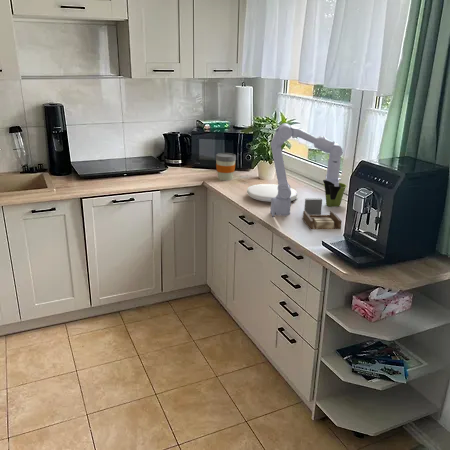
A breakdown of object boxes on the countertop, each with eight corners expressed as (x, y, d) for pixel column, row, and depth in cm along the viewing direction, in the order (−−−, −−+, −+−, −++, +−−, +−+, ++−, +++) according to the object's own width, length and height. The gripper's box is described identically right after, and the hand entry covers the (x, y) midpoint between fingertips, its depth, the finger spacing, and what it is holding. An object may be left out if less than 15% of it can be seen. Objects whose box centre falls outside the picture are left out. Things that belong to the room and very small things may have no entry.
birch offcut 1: (314, 226, 214) (315, 220, 213) (313, 224, 216) (313, 218, 214) (331, 225, 214) (332, 219, 213) (330, 224, 216) (330, 218, 215)
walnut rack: (310, 231, 210) (311, 221, 208) (302, 220, 223) (303, 210, 221) (340, 231, 211) (341, 220, 210) (331, 220, 224) (332, 210, 223)
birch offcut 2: (316, 228, 211) (316, 222, 210) (315, 226, 213) (315, 220, 212) (333, 228, 212) (334, 222, 211) (332, 226, 213) (332, 220, 212)
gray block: (304, 215, 229) (306, 199, 226) (303, 213, 231) (305, 198, 228) (320, 215, 230) (322, 199, 227) (319, 213, 232) (321, 198, 229)
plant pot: (327, 200, 254) (330, 180, 250) (348, 205, 247) (350, 184, 243) (317, 205, 245) (319, 184, 241) (337, 210, 238) (340, 189, 234)
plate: (283, 181, 271) (307, 194, 248) (281, 192, 273) (305, 206, 250) (240, 180, 260) (261, 193, 237) (238, 191, 262) (259, 206, 239)
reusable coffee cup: (212, 180, 287) (213, 156, 282) (218, 175, 299) (219, 152, 293) (232, 182, 284) (232, 157, 279) (237, 177, 295) (238, 153, 290)
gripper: (346, 173, 214) (343, 201, 218) (336, 165, 227) (333, 192, 232) (331, 173, 213) (328, 201, 218) (322, 165, 226) (319, 192, 231)
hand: (330, 196), depth 225 cm, fingers open, 7 cm apart
